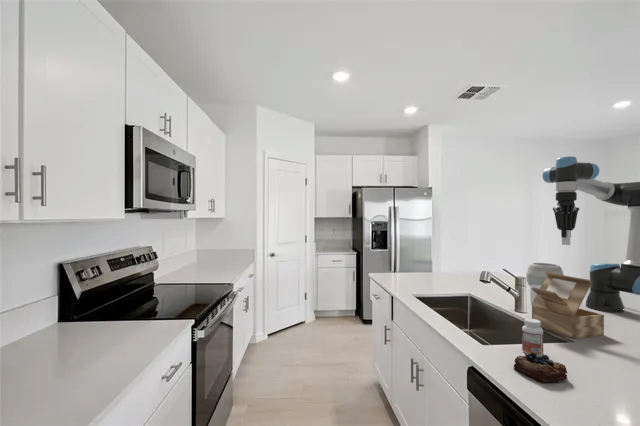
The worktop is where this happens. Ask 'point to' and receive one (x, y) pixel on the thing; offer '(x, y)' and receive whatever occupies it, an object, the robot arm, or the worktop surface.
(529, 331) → the pill bottle
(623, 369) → the worktop surface
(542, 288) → the lid
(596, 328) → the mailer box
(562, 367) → the pastry
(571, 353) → the worktop surface
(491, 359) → the worktop surface
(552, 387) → the worktop surface
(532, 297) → the mug
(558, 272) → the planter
